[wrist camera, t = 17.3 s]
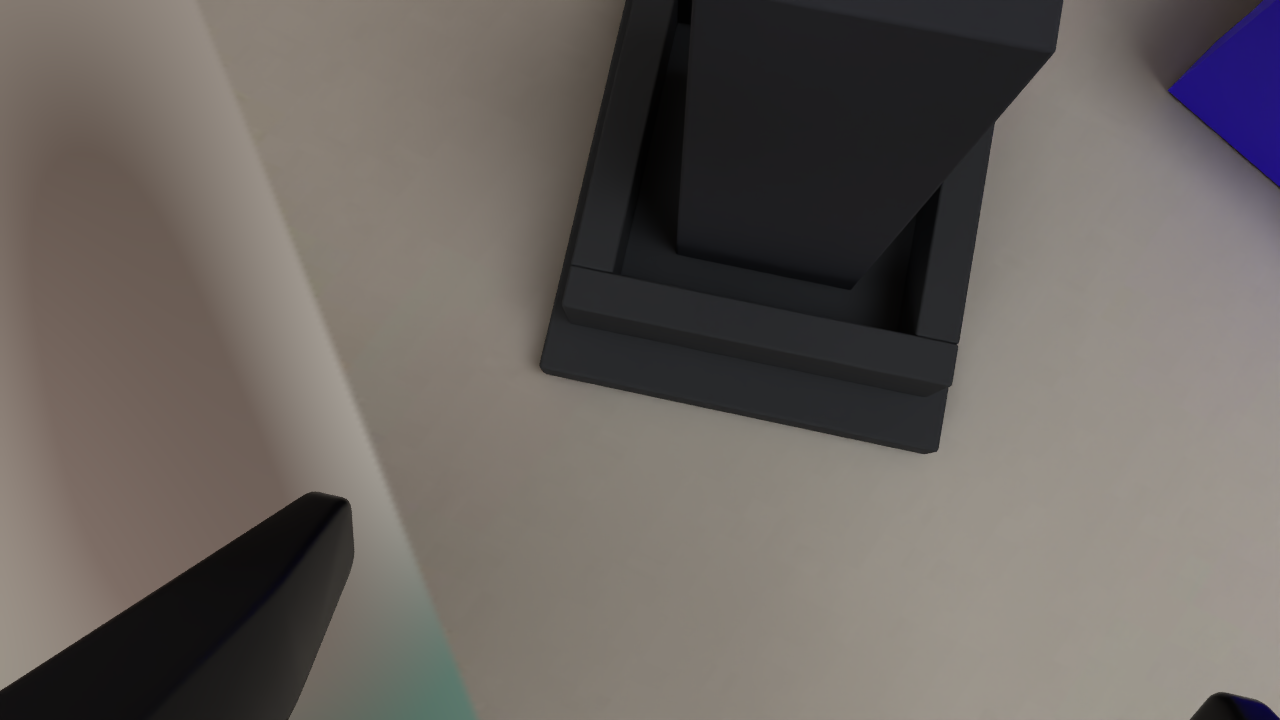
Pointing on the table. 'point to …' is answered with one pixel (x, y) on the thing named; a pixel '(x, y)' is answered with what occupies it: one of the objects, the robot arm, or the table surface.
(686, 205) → the black block
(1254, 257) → the table surface
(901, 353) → the socket pad
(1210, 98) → the bracket
